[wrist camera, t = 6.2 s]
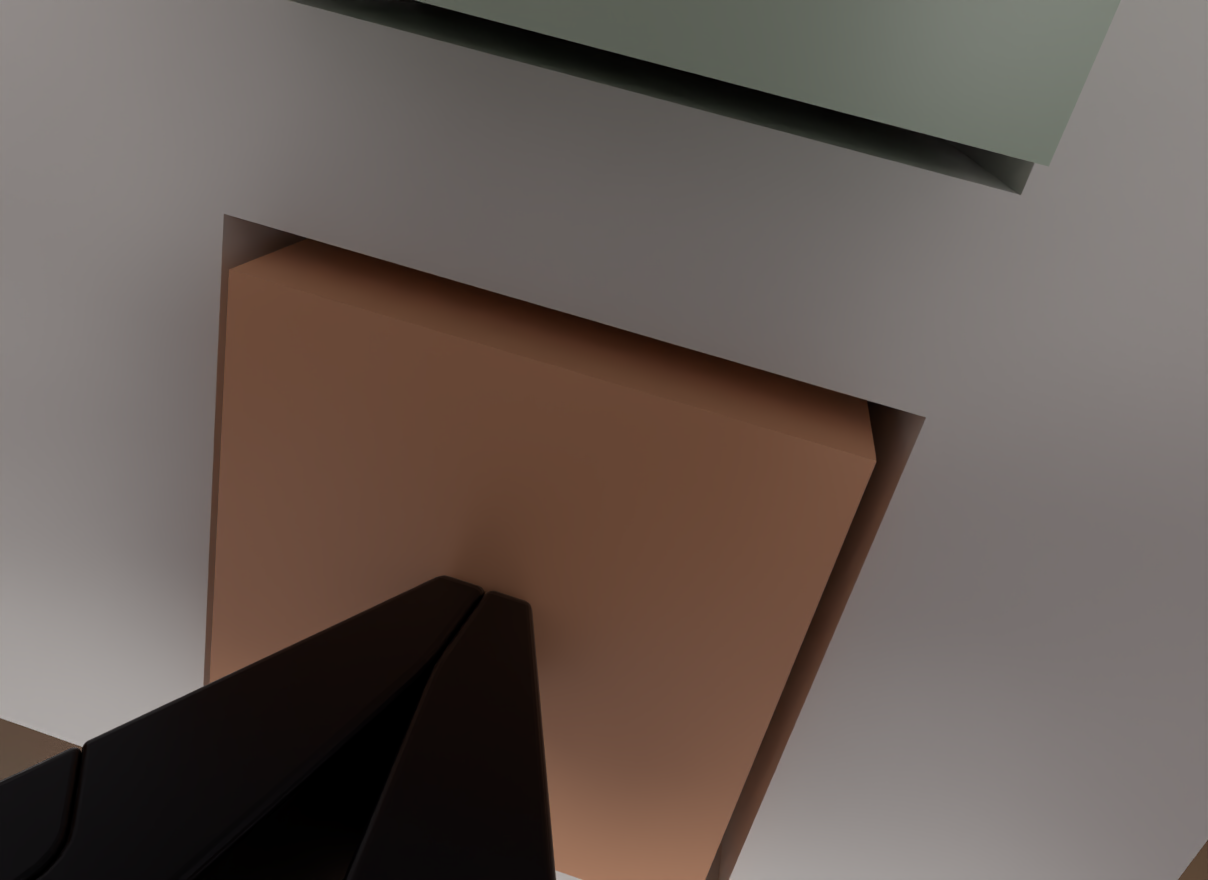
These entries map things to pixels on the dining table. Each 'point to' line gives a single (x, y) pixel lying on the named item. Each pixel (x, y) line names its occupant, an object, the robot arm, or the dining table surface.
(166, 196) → the button panel
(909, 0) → the sage button
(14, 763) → the dining table surface
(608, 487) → the terracotta button
